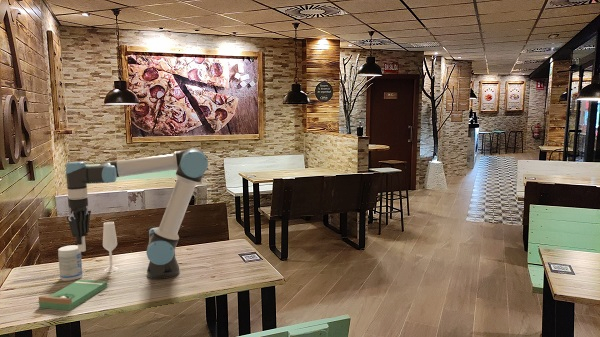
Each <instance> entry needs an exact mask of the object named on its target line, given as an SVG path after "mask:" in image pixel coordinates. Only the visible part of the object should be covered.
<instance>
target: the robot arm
mask: <svg viewBox="0 0 600 337" xmlns="http://www.w3.org/2000/svg"><path fill="white" fill-rule="evenodd" d="M208 166H209V161H208V158H207V156H206V154H205V153H204V152H203V150H201V149H199V148H196V147H195V148H194V147H193V148H192V147H191V148H187V149H184V150H177V151H174V152H173V153H171V154H164V155H154V156H148V157H146V156H145V157H138V158H130V159H122V160H114V161H103V162H101V163H100V164H99V165H91V166H90V165H89V166H88V165H86V162H85V161H70V162H66V164H65V177H66V188H67V198H68V201H67V202H68V208H69V209H70V210H71V211H70V215H69V216H66V220H67V221H68V224H69V229H70V233H71V236H72V237H73V238H76V244H77V245H78V251H81V253H82V252H86V251H87V249H86V248H87V247H86V236H88V234H89V232H90V218H91V214H92V211H91V210H88V208H87V207H88V206H89V199H88V197H89V196H88V186H87V185H89V184H90V185H91V184H110V183H115V182H116V181H117V178H120V177H121V178H122V177H130V176H135V175H144V174H146V175H147V174H152V173H160V172H167V171H168V172H169V171H176V172H175V175H176V178H177V179H176V182H175V185H174V187H173V189H172V192H171V195H170V198H169V200H168V203H167V204H166V205H167V206H166V207H165V210H164V214H163V215H162V219H161V221H160V223H159V226H157V227H152V228H150V229H149V230H148V236H149V240H148V245H147V248H146V256H147V259H148V261H149V262H148V267H147V268H146V269H147V270H146V275H147V277H148V278H150V279H157V280H162V279H169V278H172V277H175V276H177V275H179V274H180V266H179V263H178V260H177V257H176V248H177V244H178V242H179V240H180V237H179V233H178V232H179V230H180V229H181V225H182V222H183V221H184V217H185V214H186V211H187V209H188V206H189V205H190V204H189V203H190V202H191V199H192V197H193V194H194V191H195V189H196V186H197V185H198V184H200V183H201V182H202V179H203V177H204V175H205V173H206V171H207V170H208Z"/></svg>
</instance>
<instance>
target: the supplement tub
mask: <svg viewBox="0 0 600 337" xmlns="http://www.w3.org/2000/svg"><path fill="white" fill-rule="evenodd" d="M57 251H58V252H57V255H58V256H57V257H58V267H59V278H60V280H61V281H64V282H69V281H75V280H79V279H80V278H82V276H83V265H82V264H83V263H82V252H81V251H78V245H75V244H74V245H73V244H72V245H71V244H70V245H65V246H61V247H60V248H58V249H57Z"/></svg>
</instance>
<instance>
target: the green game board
mask: <svg viewBox="0 0 600 337" xmlns="http://www.w3.org/2000/svg"><path fill="white" fill-rule="evenodd" d="M107 287H108V281H103V280H91V279H90V280H89V279H80V278H78V279H76V281H73V282H72V283H70V284H69V285H67V286H64V287H63V288H62V289H60V290H58V291H55V292H54V293H52V294H50V295H48V296H46V295H39V296H38V307H39V308H40V309H41V308H42V309H51V310H52V309H53V310H63V311H71V310H73V309H74V308H76V307H78V306H79V305H81V304H82V303H84V302H85V301H87V300H89V299H91V298H92V297H93V296H95V295H96V294H99V293H100V292H101V291H103V290H104V289H106V288H107ZM62 296H65V297H66V298H60V297H62Z"/></svg>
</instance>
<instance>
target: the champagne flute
mask: <svg viewBox="0 0 600 337" xmlns="http://www.w3.org/2000/svg"><path fill="white" fill-rule="evenodd" d="M102 227H103V229H102V231H103V232H102V233H103V234H102V247H103V248H104V249H105V250H106V251H108V253H109V256H108V257H109V266H108V267H107V268H105V269H104V272H105V273H113V272H117V271H118V270H120V268H119V267H116V266H114V265H113V250H115V249H116V247H117V246H118V239H117V233H116V226H115V222H114V221H107V222H106V221H105V222H103V226H102Z"/></svg>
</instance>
